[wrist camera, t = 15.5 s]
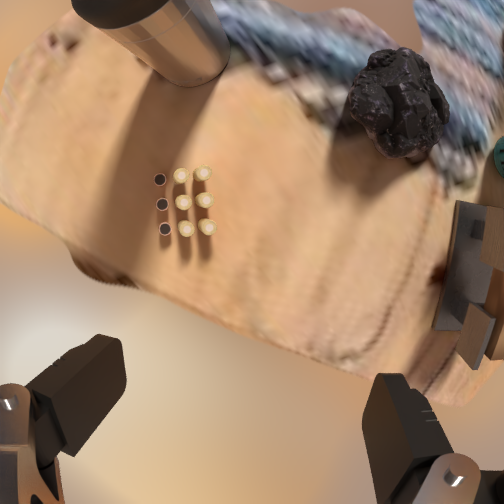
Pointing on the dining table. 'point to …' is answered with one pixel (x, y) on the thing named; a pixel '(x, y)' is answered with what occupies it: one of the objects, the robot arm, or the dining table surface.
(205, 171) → the ammunition
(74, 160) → the dining table surface
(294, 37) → the dining table surface
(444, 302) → the bracket stand
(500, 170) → the beverage bottle
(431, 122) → the crystal cluster
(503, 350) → the walnut rail
